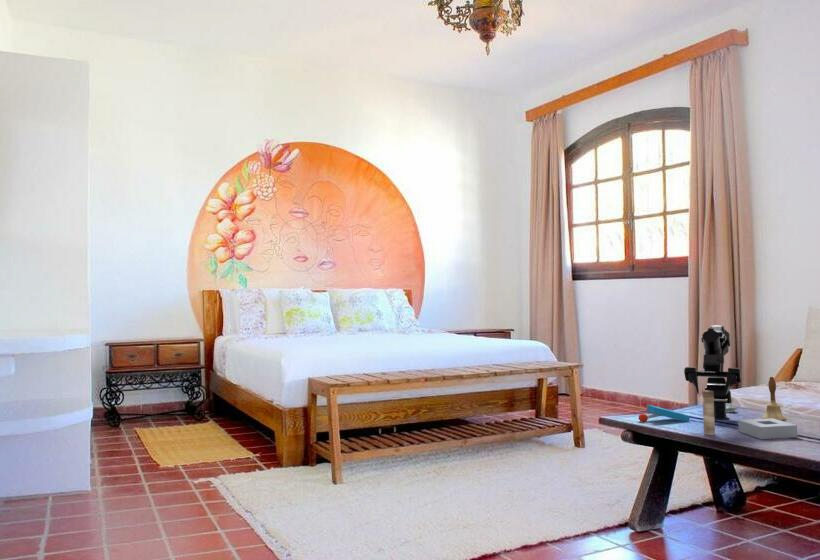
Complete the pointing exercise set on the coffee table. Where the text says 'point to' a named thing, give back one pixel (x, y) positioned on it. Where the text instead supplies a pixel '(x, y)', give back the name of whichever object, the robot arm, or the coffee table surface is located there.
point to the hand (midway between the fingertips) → (711, 393)
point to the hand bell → (773, 404)
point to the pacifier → (730, 406)
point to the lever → (663, 414)
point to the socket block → (767, 428)
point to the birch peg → (708, 412)
